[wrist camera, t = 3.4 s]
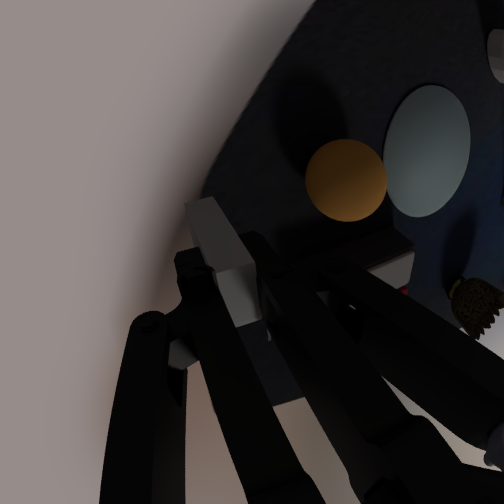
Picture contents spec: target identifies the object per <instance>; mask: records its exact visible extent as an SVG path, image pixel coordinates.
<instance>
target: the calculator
mask: <svg viewBox="0 0 504 504" xmlns="http://www.w3.org/2000/svg"><path fill="white" fill-rule="evenodd" d="M415 250H416V245H415V244H414V243H413V242H411V241H410V240H409V239H408V238H406V237H405V236H404V235H403V234H401V233H400V232H399V231H398V230H396V229H395V228H394V227H392V226H391V227H388V228H385V229H383V230H380V231H377V232H375V233H372V234H369V235H367V236H364V237H361V238H359V239H356V240H353V241H351V242H348V243H345V244H342V245H340V246H337V247H334V248H331V249H329V250H326V251H323V252H321V253H318V254H315V255H312V256H309V257H307V258H304V259H301V260H298V261H296V262H293V263H292V265H294V266H295V267H296V268H297V270H316V269H318V265H319V263H320V261H322V260H323V259H325V258H328V257H333V256H338V257H343V258H346V259H348V260H350V261H352V262H353V263H355V264H357V265H358V266H360V267H362V268H363V269H365V270H367V271H368V272H370V273H371V274H373V275H375V276H376V277H378V278H380V279H381V280H383V281H384V282H386V283H388V284H389V285H391V286H393V287H394V288H396V289H397V290H399V291H401V292H402V293H404V294H405V295H407V294H408V283H409V279H410V274H411V270H412V265H413V260H414V255H415ZM350 306H351V305H350ZM351 307H352V308H354V307H353V306H351ZM354 309H356V308H354Z"/></svg>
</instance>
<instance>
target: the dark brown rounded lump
mask: <svg viewBox="0 0 504 504" xmlns="http://www.w3.org/2000/svg"><path fill="white" fill-rule="evenodd" d="M446 293H447V296H448V298H449V299H450V300H452V301H451V309H452V312H453V315H454V316H455V318H456V320H457V321H458V322H459V324H460V325H461V326H462V327H463V329H464V330H465V331H466V332H467V334H468V335H469V336H470V337H471V338H473V339H474V340H475V339H477V340H479V338H480V333H481V334H483V335H484V334H485V333H484V329H483V328H491V326H490V323H491V324H492V323H495V318H494V316H493V314H494V315H497V316H499V311H498V310H499V309H502V308H504V295H503V294H504V292H502V291H500V290H499V289H497V288H496V287H494V286H492V285H491V284H489V283H488V282H486V281H484V280H482V279H479V278H469V279H467V280H466V279H465V278H464V277H462V276H457V277H456V278H454V279H453V280H452V281H451V283H450V284H449V286H448V288H447V292H446Z"/></svg>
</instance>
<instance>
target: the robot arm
mask: <svg viewBox="0 0 504 504" xmlns="http://www.w3.org/2000/svg"><path fill="white" fill-rule="evenodd" d="M185 208H186V213H187V217H188V222H189V226H190V230H191V234H192V239H193V243H194V247H195V248H191V249H187V250H184V251H180V252H177V254H176V256H175V258H174V263H175V267H176V271H177V284H178V287H179V290H180V293H181V296H182V300H181V302H180V304H179V305H178V306H177V307H176V308H175V309H174V310H173V311H171V312H169V313H168V314H166V315H164V313H161V312H159V311H149V312H145V313H143V314H141V315H139V316H137V318H135V319H134V320H133V322H132V324H131V326H130V329H129V333H128V338H127V341H126V346H125V350H124V355H123V359H122V363H121V367H120V372H119V377H118V381H117V386H116V392H115V396H114V402H113V407H112V412H111V418H110V424H109V430H108V436H107V442H106V449H105V456H104V464H103V471H102V480H101V490H100V499H99V504H185V433H186V398H187V373H188V370H187V367H188V366H190V365H192V364H193V363H195V362H197V361H198V360H199V361H200V364H201V368H202V371H203V374H204V378H205V381H206V384H207V387H208V391H209V394H210V397H211V400H212V403H213V406H214V409H215V412H216V415H217V418H218V421H219V424H220V427H221V430H222V432H223V435H224V438H225V441H226V444H227V447H228V449H229V452H230V455H231V458H232V460H233V463H234V466H235V468H236V471H237V473H238V476H239V479H240V481H241V484H242V486H243V489H244V492H245V495H246V499H247V501H248V504H326V503H325V501H324V499H323V497H322V495H321V494H320V492H319V490H318V488H317V486H316V485H315V483H314V481H313V480H312V478H311V477H310V476H309V475H308V474H307V473H306V472H305V471H304V469H303V468H302V466H301V464H300V462H299V461H298V459H297V456H296V454H295V452H294V450H293V448H292V446H291V444H290V442H289V440H288V438H287V436H286V434H285V432H284V430H283V428H282V426H281V424H280V422H279V420H278V418H277V416H276V414H275V412H274V410H273V407H272V405H271V403H270V401H269V399H268V397H267V395H266V393H265V391H264V388H263V386H262V384H261V382H260V380H259V378H258V376H257V373H256V371H255V369H254V367H253V365H252V362H251V360H250V358H249V356H248V354H247V351H246V349H245V347H244V345H243V343H242V340H241V338H240V336H239V334H238V331H237V329H236V327H239V326H242V325H245V324H248V323H251V322H254V321H258V320H261V319H262V313H261V310H262V312H263V314H264V316H265V319H266V328H267V337H268V341H270V340H271V336H272V338H273V340H274V342H275V344H276V345H277V347H278V349H279V351H280V353H281V355H282V356H283V358H284V360H285V362H286V364H287V366H288V367H289V369H290V371H291V373H292V375H293V376H294V378H295V380H296V382H297V384H298V385H299V387H300V389H301V391H302V393H303V394H304V396H305V398H306V400H307V402H308V403H309V405H310V407H311V409H312V410H313V412H314V414H315V416H316V417H317V419H318V421H319V423H320V425H321V426H322V428H323V430H324V431H325V433H326V435H327V437H328V439H329V440H330V442H331V444H332V446H333V447H334V449H335V451H336V453H337V454H338V456H339V458H340V460H341V461H342V463H343V465H344V466H345V468H346V470H347V472H348V475H349V480H350V484H351V487H352V489H353V491H354V493H355V494H356V496H357V498H358V500H359V501H360V503H361V504H504V360H503V359H502V358H501V357H499V356H498V355H496V354H495V353H493V352H492V351H490V350H489V349H488V348H486V347H485V346H483V345H482V344H480V343H479V342H477V341H476V340H474V339H473V338H471V337H470V336H468V335H467V334H465V333H464V332H462V331H461V330H459V329H458V328H456V327H455V326H453V325H452V324H450V323H449V322H447V321H446V320H444V319H443V318H441V317H440V316H438V315H437V314H435V313H434V312H432V311H430V310H429V309H427V308H426V307H424V306H423V305H421V304H420V303H418V302H416V301H415V300H413V299H412V298H410V297H409V296H407V295H405V294H404V293H402V292H401V291H399V290H397V289H396V288H394V287H393V286H391V285H389V284H388V283H386V282H384V281H383V280H381V279H380V278H378V277H376V276H375V275H373V274H371V273H370V272H368V271H367V270H365V269H363V268H362V267H360V266H358V265H357V264H355V263H353V262H352V261H350V260H348V259H346V258H343V257H338V256H333V257H328V258H325V259H323V260H322V261H320V263H319V265H318V269H316V270H297V268H296V267H295V266H294V265H292V264H291V263H288V262H283V261H282V260H281V259H280V258H279V256H278V255H277V254H276V252H275V251H274V250H273V249H272V247H270V245H269V243H268V242H266V240H265V238H264V237H263V236H262V235H261V234H259V233H257V232H255V231H251V232H247V233H244V234H240V235H237V233H236V232H235V230H234V229H233V227H232V226H231V224H230V223H229V221H228V219H227V218H226V216H225V215H224V213H223V212H222V210H221V209H220V207H219V205H218V204H217V202H216V201H215V199H214V198H213V196H212V197H208V198H204V199H200V200H196V201H192V202H188V203H185ZM350 305H351V306H353V307H354V308H356V309H354V308H352V307H351V306H350ZM382 376H383V377H384V378H385V379H386V380H387V381H389V382H390V383H391V384H392V385H394V386H395V387H396V388H397V389H399V390H400V391H401V392H402V393H403V394H405V395H406V396H407V397H409V398H410V399H411V400H412V401H413V402H415V403H416V404H417V405H419V406H420V407H421V408H422V409H423V410H425V411H426V412H427V413H429V414H430V415H431V416H432V417H433V418H435V419H436V420H437V421H438V422H440V423H441V424H442V425H443V426H445V427H446V428H447V429H449V430H450V431H451V432H452V433H454V434H455V435H456V436H458V437H459V438H461V439H462V440H463V441H465V442H467V443H469V444H470V445H473V446H474V447H476V448H479V449H482V450H485V451H486V453H485V455H484V463H485V464H486V465H487V466H494V465H495V466H497V467H498V468H500V469H501V471H502V472H501V471H496V470H491V469H486V468H481V467H477V466H473V465H468V464H464V463H462V462H461V461H460V459H459V458H458V457H457V456H456V454H455V453H454V451H453V450H452V449H451V447H450V446H449V445H448V443H447V442H446V441H445V439H444V438H443V437H442V435H441V434H440V433H439V431H438V430H437V429H436V427H435V426H434V425H433V424H432V423H431V422H430V421H429V420H428V419H427V418H425V417H424V416H420V415H412V414H410V413H409V412H408V411H407V409H406V408H405V407H404V405H403V404H402V403H401V401H400V400H399V399H398V397H397V396H396V395H395V393H394V392H393V391H392V389H391V388H390V387H389V385H388V384H387V383H386V382H385V380H384V379H383V378H382Z"/></svg>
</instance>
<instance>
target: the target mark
mask: <svg viewBox="0 0 504 504" xmlns="http://www.w3.org/2000/svg"><path fill="white" fill-rule="evenodd" d="M469 152H470V129H469V123H468V119H467V116H466V113H465V110H464V108H463V106H462V104H461V103H460V101H459V100H458V98H457V97H456V96H455V95H454V94H453V93H452V92H451V91H449V90H447V89H446V88H443V87H441V86H435V85H428V86H423V87H420V88H418V89H416V90H415V91H413V92H412V93H410V94H409V95H408V96H407V97H406V98H405V99H404V100H403V101H402V103H401V104H400V105H399V107H398V108H397V110H396V112H395V114H394V115H393V118H392V120H391V122H390V124H389V127H388V130H387V133H386V138H385V142H384V148H383V159H382V162H383V164H384V167H385V170H386V174H387V189H386V190H387V193H388V196H389V198H390V199H391V201H392V203H393V204H394V205H395V206H396V208H398V209H399V210H400V211H401V212H403V213H405V214H406V215H409V216H412V217H423V216H427V215H430V214H432V213H434V212H435V211H437V210H439V209H440V208H441V207H442V206H444V205H445V204H446V203H447V202H448V201H449V199H450V198H451V197H452V196H453V194H454V193H455V191H456V190H457V188H458V186H459V184H460V182H461V180H462V178H463V176H464V173H465V170H466V167H467V163H468V158H469Z"/></svg>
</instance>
